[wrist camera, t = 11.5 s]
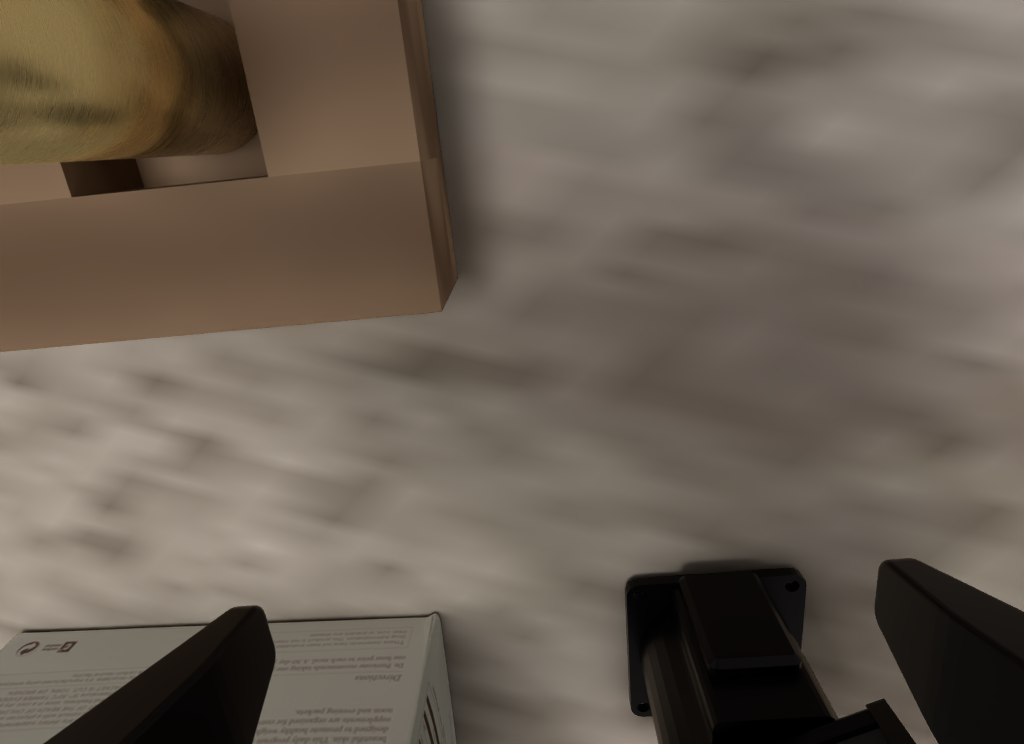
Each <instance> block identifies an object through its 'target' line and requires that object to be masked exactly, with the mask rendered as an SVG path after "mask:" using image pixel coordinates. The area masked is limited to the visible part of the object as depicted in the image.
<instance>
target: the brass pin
mask: <svg viewBox="0 0 1024 744" xmlns="http://www.w3.org/2000/svg"><path fill="white" fill-rule="evenodd" d="M257 131H258V129H257V125H256V120H255V116H254V111H253V107H252V102H251V98H250V94H249V89H248V85H247V80H246V76H245V71H244V67H243V63H242V58H241V54H240V49H239V45H238V40H237V36H236V32H235V27H234V26H232V25H231V24H230V23H228V22H227V21H225V20H223V19H221V18H219V17H217V16H215V15H212V14H210V13H207V12H205V11H202V10H200V9H197V8H195V7H192V6H190V5H187V4H185V3H182V2H180V1H177V0H0V165H18V164H38V163H57V162H77V161H96V160H116V159H136V158H155V157H175V156H195V155H214V154H224V153H228V152H231V151H234V150H236V149H238V148H240V147H242V146H243V145H245V144H246V143H248V142H249V141H250V140H251V139H252V138H253V137H254V135H255V134H256V133H257Z"/></svg>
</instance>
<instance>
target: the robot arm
mask: <svg viewBox="0 0 1024 744" xmlns="http://www.w3.org/2000/svg"><path fill="white" fill-rule="evenodd" d="M789 581H794V582H793V583H791V584H788V585H786V584H787V583H788V582H789ZM637 591H644V592H643V593H642V594H639V595H638V594H634V593H636V592H637ZM805 596H806V581H805V579H804V578H803V576H802V575H801V573H800V572H799V571H798V570H796V569H794V568H780V569H765V570H750V571H736V572H721V573H706V574H691V575H677V576H662V577H647V578H636V579H632V580H631V581H629V582H628V583H627V585H626V587H625V606H626V630H627V654H628V678H629V700H630V705H631V710H632V712H633V713H634V714H635V715H637V716H642V717H647V716H652V717H653V721H654V726H655V730H656V735H657V739H658V744H916V743H915V742H914V740H913V739H912V737H911V736H910V734H909V733H908V732H907V730H906V729H905V727H904V726H903V725H902V723H901V722H900V720H899V719H898V718H897V716H896V715H895V713H894V712H893V711H892V709H891V708H890V706H889V705H888V703H887V702H886V701H885V699H881V700H878V701H875V702H873V703H870V704H867V705H866V707H867V709H865V710H862V711H859V712H856V713H854V714H851V715H848V716H845V717H843V718H840V719H838V717H837V715H836V713H835V711H834V710H833V708H832V706H831V704H830V702H829V700H828V699H827V697H826V695H825V693H824V691H823V689H822V687H821V686H820V684H819V682H818V680H817V678H816V676H815V675H814V673H813V671H812V669H811V667H810V665H809V664H808V662H807V660H806V658H805V656H804V654H803V652H802V651H801V643H802V632H803V620H804V608H805ZM875 615H876V619H877V622H878V625H879V627H880V629H881V631H882V633H883V635H884V637H885V639H886V641H887V644H888V646H889V648H890V650H891V652H892V654H893V656H894V658H895V660H896V662H897V664H898V666H899V668H900V670H901V672H902V674H903V676H904V678H905V680H906V682H907V684H908V686H909V688H910V690H911V692H912V694H913V696H914V698H915V700H916V702H917V704H918V706H919V708H920V711H921V713H922V714H923V716H924V718H925V720H926V722H927V724H928V726H929V728H930V730H931V732H932V733H933V735H934V737H935V738H936V740H937V742H938V743H939V744H1024V612H1023V611H1021V610H1019V609H1017V608H1015V607H1013V606H1011V605H1009V604H1007V603H1005V602H1003V601H1001V600H999V599H997V598H994V597H992V596H990V595H988V594H986V593H984V592H982V591H980V590H978V589H976V588H974V587H972V586H970V585H968V584H966V583H964V582H962V581H960V580H958V579H955V578H953V577H951V576H949V575H947V574H945V573H943V572H941V571H939V570H937V569H935V568H933V567H931V566H929V565H927V564H925V563H923V562H921V561H918V560H916V559H912V558H904V559H891V560H885V561H883V562H882V563H881V565H880V566H879V571H878V580H877V589H876V598H875ZM275 660H276V651H275V645H274V642H273V639H272V635H271V632H270V629H269V625H268V622H267V619H266V615H265V613H264V610H263V609H262V608H261V607H259V606H257V605H254V606H239V607H233V608H231V609H229V610H228V611H226V612H225V613H224V614H222V615H221V616H220V617H218V618H217V619H215V620H214V621H213V622H211V623H210V624H208V625H207V626H206V627H204V628H203V629H201V630H200V631H199V632H197V633H196V634H195V635H193V636H192V637H190V638H189V639H188V640H186V641H185V642H183V643H182V644H181V645H179V646H178V647H176V648H175V649H174V650H172V651H171V652H170V653H168V654H167V655H165V656H164V657H163V658H161V659H160V660H158V661H157V662H156V663H154V664H153V665H151V666H150V667H149V668H147V669H146V670H145V671H143V672H142V673H140V674H139V675H138V676H136V677H135V678H133V679H132V680H131V681H129V682H128V683H126V684H125V685H124V686H122V687H121V688H120V689H118V690H117V691H115V692H114V693H113V694H111V695H110V696H108V697H107V698H106V699H104V700H103V701H101V702H100V703H99V704H97V705H96V706H95V707H93V708H92V709H90V710H89V711H88V712H86V713H85V714H83V715H82V716H81V717H79V718H78V719H76V720H75V721H74V722H72V723H71V724H70V725H68V726H67V727H65V728H64V729H63V730H61V731H60V732H58V733H57V734H56V735H54V736H53V737H51V738H50V739H49V740H47V741H46V742H45V743H43V744H252V743H253V740H254V736H255V733H256V729H257V726H258V722H259V719H260V715H261V712H262V708H263V705H264V701H265V698H266V694H267V691H268V687H269V683H270V680H271V676H272V673H273V669H274V665H275ZM641 703H643V704H641Z"/></svg>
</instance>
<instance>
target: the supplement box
mask: <svg viewBox="0 0 1024 744" xmlns="http://www.w3.org/2000/svg"><path fill="white" fill-rule="evenodd" d="M268 625H269V629H270V632H271V635H272V639H273V642H274V645H275V651H276V660H275V665H274V669H273V673H272V676H271V680H270V683H269V687H268V691H267V694H266V698H265V701H264V705H263V708H262V712H261V715H260V719H259V722H258V726H257V729H256V733H255V736H254V740H253V743H252V744H457V742H456V735H455V727H454V719H453V711H452V704H451V696H450V688H449V681H448V673H447V665H446V657H445V650H444V644H443V635H442V627H441V622H440V618H439V616H438V615H437V614H435V613H434V614H432V615H431V616H429V617H421V618H392V619H367V620H341V621H315V622H289V623H268ZM204 627H206V626H184V627H158V628H134V629H110V630H87V631H63V632H40V633H21V634H17V635H16V636H15V637H14V638H13V639H12V640H11V641H10V642H9V643H8V644H7V645H6V646H5V647H4V648H3V649H2V650H1V651H0V744H43V743H45V742H46V741H47V740H49V739H50V738H51V737H53V736H54V735H56V734H57V733H58V732H60V731H61V730H63V729H64V728H65V727H67V726H68V725H70V724H71V723H72V722H74V721H75V720H76V719H78V718H79V717H81V716H82V715H83V714H85V713H86V712H88V711H89V710H90V709H92V708H93V707H95V706H96V705H97V704H99V703H100V702H101V701H103V700H104V699H106V698H107V697H108V696H110V695H111V694H113V693H114V692H115V691H117V690H118V689H120V688H121V687H122V686H124V685H125V684H126V683H128V682H129V681H131V680H132V679H133V678H135V677H136V676H138V675H139V674H140V673H142V672H143V671H145V670H146V669H147V668H149V667H150V666H151V665H153V664H154V663H156V662H157V661H158V660H160V659H161V658H163V657H164V656H165V655H167V654H168V653H170V652H171V651H172V650H174V649H175V648H176V647H178V646H179V645H181V644H182V643H183V642H185V641H186V640H188V639H189V638H190V637H192V636H193V635H195V634H196V633H197V632H199V631H200V630H201V629H203V628H204Z"/></svg>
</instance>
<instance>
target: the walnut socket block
mask: <svg viewBox="0 0 1024 744" xmlns="http://www.w3.org/2000/svg"><path fill="white" fill-rule="evenodd" d="M177 1H180V2H182V3H185V4H187V5H190V6H192V7H195V8H197V9H200V10H202V11H205V12H207V13H210V14H212V15H215V16H217V17H219V18H221V19H223V20H225V21H227V22H228V23H230V24H231V25H232V26H234V27H235V32H236V36H237V40H238V45H239V49H240V54H241V58H242V63H243V67H244V71H245V76H246V80H247V85H248V89H249V94H250V98H251V102H252V107H253V111H254V116H255V120H256V125H257V129H258V131H257V133H256V134H255V135H254V137H253V138H252V139H251V140H250V141H249V142H248V143H246V144H245V145H243V146H242V147H240V148H238V149H236V150H234V151H231V152H228V153H224V154H214V155H195V156H175V157H155V158H136V159H116V160H96V161H77V162H57V163H38V164H18V165H0V352H5V351H16V350H27V349H38V348H49V347H60V346H71V345H82V344H93V343H104V342H115V341H126V340H137V339H148V338H159V337H170V336H181V335H192V334H203V333H214V332H225V331H235V330H246V329H257V328H268V327H279V326H290V325H301V324H312V323H323V322H334V321H345V320H356V319H367V318H378V317H389V316H400V315H411V314H422V313H433V312H442V310H443V308H444V306H445V304H446V302H447V299H448V297H449V295H450V293H451V291H452V289H453V287H454V285H455V283H456V281H457V279H458V277H457V270H456V262H455V254H454V247H453V239H452V231H451V224H450V216H449V208H448V201H447V193H446V185H445V178H444V170H443V162H442V155H441V147H440V139H439V132H438V124H437V116H436V109H435V101H434V93H433V86H432V78H431V70H430V63H429V55H428V47H427V40H426V32H425V24H424V17H423V9H422V1H421V0H177Z"/></svg>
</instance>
